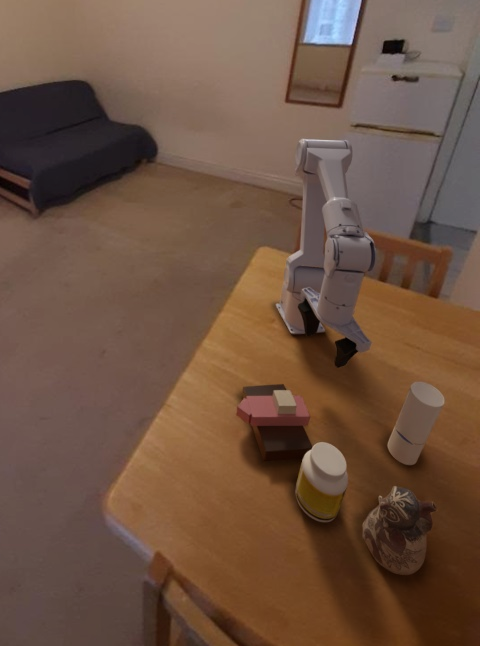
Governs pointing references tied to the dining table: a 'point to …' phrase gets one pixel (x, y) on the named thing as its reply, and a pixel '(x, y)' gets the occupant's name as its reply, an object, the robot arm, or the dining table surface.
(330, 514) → the pill bottle
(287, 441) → the walnut block
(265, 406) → the boat
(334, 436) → the dining table surface
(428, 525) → the figurine
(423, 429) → the tube
